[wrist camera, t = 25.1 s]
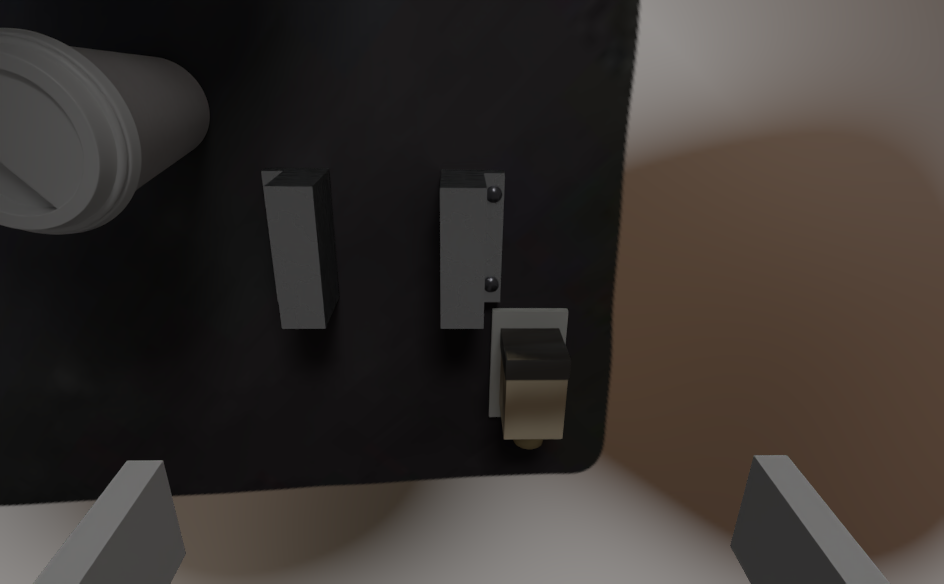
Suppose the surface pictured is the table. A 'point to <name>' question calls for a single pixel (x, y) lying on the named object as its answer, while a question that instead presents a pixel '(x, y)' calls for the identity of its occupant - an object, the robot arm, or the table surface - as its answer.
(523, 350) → the tan piece
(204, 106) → the coffee cup
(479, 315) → the dark grey boxy pieces
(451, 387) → the table surface
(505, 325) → the mat
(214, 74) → the table surface
